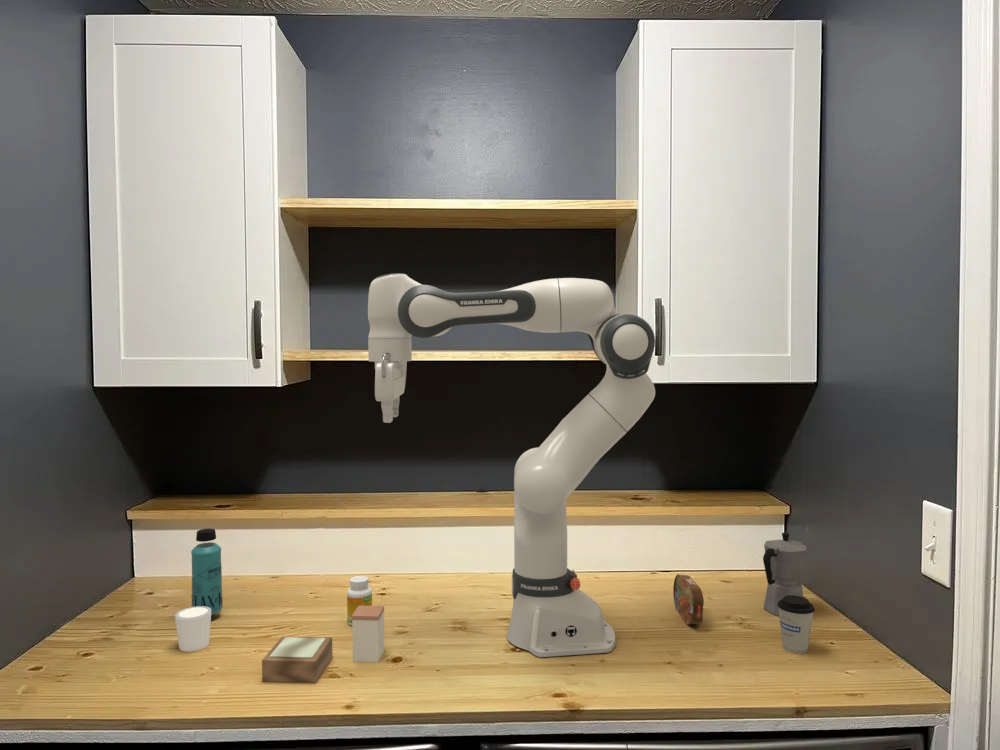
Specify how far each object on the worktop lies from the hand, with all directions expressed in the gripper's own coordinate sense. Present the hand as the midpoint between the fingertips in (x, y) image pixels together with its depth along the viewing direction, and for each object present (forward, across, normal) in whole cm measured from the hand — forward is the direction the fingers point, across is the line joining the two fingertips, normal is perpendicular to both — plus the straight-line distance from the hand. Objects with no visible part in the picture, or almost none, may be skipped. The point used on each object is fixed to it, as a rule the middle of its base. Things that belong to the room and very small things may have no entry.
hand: (391, 419), depth 142 cm
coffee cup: (+46, -9, -82) cm, 94 cm away
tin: (+46, +7, -65) cm, 80 cm away
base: (+46, -14, +16) cm, 51 cm away
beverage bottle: (+46, +11, +43) cm, 64 cm away
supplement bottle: (+46, +7, +8) cm, 47 cm away
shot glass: (+46, -3, +40) cm, 61 cm away
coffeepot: (+46, +9, -87) cm, 99 cm away
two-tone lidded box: (+46, -9, +4) cm, 47 cm away
